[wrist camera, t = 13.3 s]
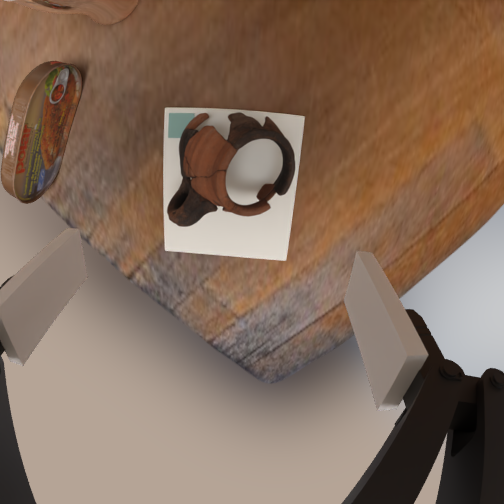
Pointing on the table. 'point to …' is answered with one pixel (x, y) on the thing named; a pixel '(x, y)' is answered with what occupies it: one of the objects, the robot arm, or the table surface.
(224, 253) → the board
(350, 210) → the table surface
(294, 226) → the table surface
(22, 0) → the beer glass
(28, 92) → the tin
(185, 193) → the broken pottery vessel
